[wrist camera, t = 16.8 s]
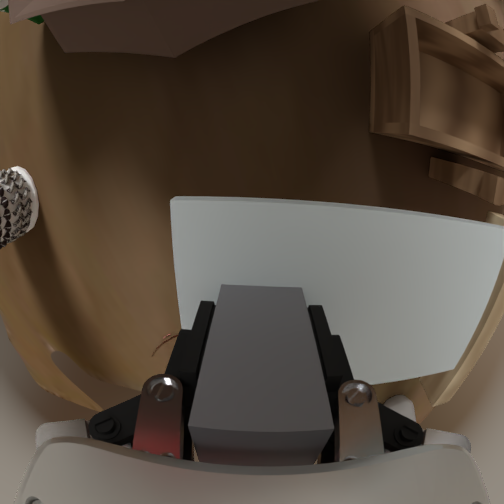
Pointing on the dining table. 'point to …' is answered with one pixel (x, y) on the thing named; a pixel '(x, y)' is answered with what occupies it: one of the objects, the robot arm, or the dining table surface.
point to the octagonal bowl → (142, 22)
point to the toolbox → (443, 92)
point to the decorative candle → (16, 204)
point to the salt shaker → (401, 406)
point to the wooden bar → (449, 381)
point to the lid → (334, 304)
